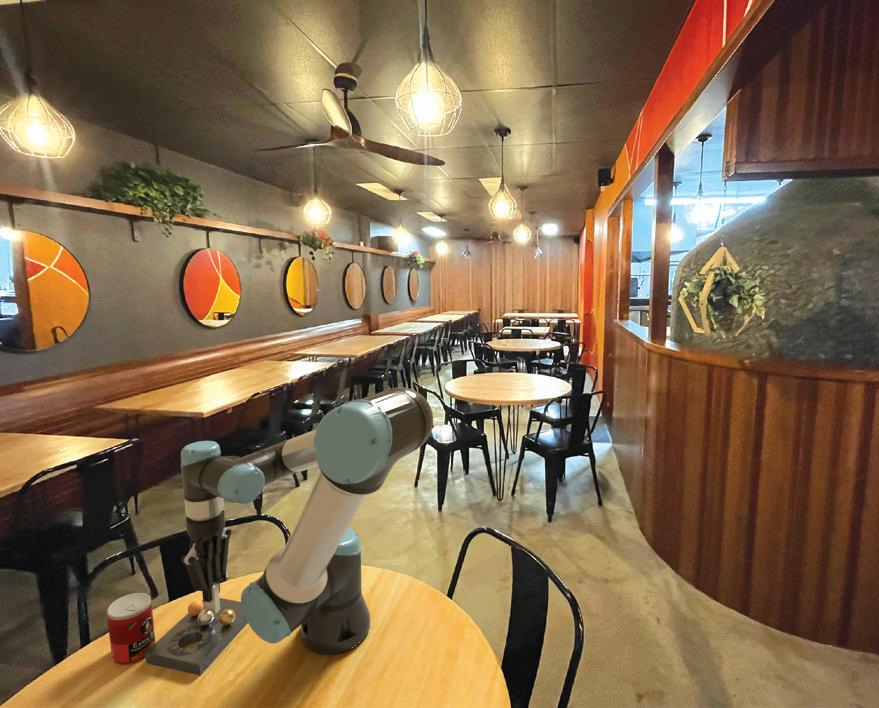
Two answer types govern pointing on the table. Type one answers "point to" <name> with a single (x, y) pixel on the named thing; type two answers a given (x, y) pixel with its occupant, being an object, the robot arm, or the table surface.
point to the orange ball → (195, 607)
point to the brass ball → (227, 617)
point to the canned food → (130, 628)
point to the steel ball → (205, 617)
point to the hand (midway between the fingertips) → (212, 610)
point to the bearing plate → (190, 631)
